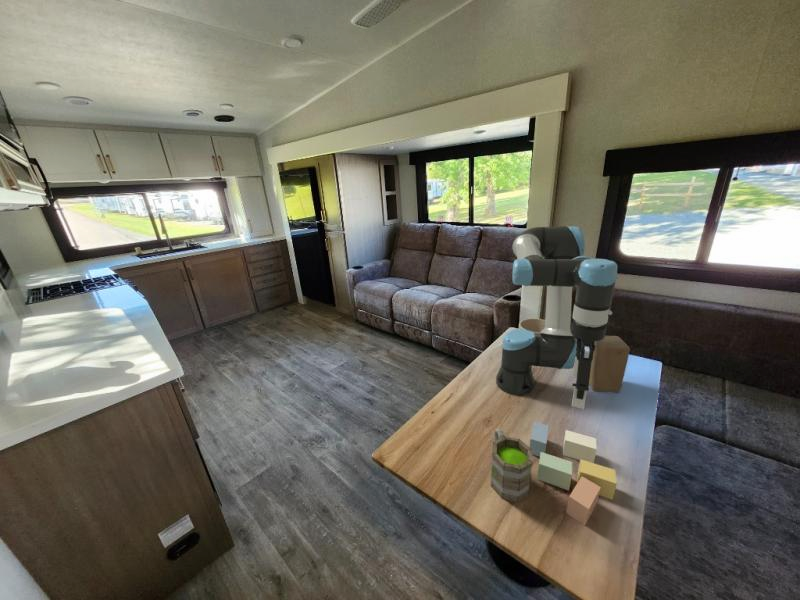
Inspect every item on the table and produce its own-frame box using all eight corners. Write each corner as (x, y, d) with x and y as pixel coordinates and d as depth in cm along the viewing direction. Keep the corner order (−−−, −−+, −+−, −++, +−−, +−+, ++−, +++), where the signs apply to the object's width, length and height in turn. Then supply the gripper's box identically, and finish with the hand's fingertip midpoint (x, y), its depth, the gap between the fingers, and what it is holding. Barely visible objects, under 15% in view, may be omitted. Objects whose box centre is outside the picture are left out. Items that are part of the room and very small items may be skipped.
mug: (537, 499, 81) (542, 466, 77) (497, 504, 80) (500, 471, 76) (512, 451, 96) (515, 421, 91) (478, 455, 95) (479, 425, 91)
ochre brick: (577, 487, 83) (580, 471, 81) (577, 474, 87) (580, 459, 85) (612, 500, 80) (616, 483, 78) (611, 486, 83) (615, 470, 81)
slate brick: (544, 458, 93) (546, 443, 90) (528, 453, 95) (530, 438, 92) (546, 439, 99) (548, 425, 97) (532, 435, 101) (533, 421, 99)
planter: (551, 360, 141) (554, 335, 136) (514, 352, 149) (516, 329, 144) (554, 344, 154) (557, 321, 149) (520, 338, 162) (522, 316, 157)
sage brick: (536, 479, 86) (539, 463, 84) (538, 467, 90) (540, 451, 88) (568, 490, 83) (571, 474, 81) (569, 477, 86) (572, 462, 84)
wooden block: (621, 393, 117) (631, 348, 110) (592, 391, 119) (600, 346, 112) (609, 378, 126) (619, 335, 119) (583, 376, 128) (590, 334, 121)
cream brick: (562, 454, 93) (565, 440, 91) (563, 444, 97) (565, 429, 95) (593, 464, 90) (596, 449, 87) (592, 453, 93) (596, 438, 91)
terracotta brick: (585, 525, 74) (588, 509, 72) (566, 512, 77) (569, 496, 75) (596, 503, 79) (600, 487, 77) (578, 492, 82) (581, 476, 80)
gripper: (611, 346, 64) (595, 425, 72) (603, 305, 85) (591, 370, 92) (571, 340, 68) (560, 416, 75) (572, 302, 88) (563, 365, 96)
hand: (577, 391), depth 84 cm, fingers open, 13 cm apart
